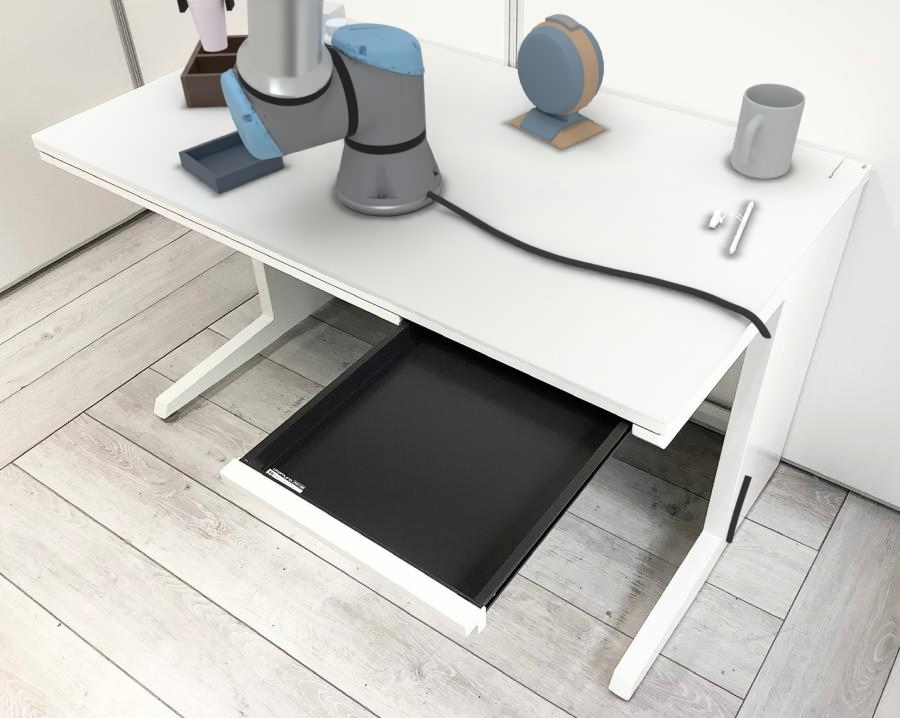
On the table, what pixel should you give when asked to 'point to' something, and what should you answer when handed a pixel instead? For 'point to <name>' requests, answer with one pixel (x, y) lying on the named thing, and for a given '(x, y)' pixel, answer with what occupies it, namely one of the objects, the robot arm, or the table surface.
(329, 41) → the pill bottle
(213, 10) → the smoothie
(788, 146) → the mug
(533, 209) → the table surface
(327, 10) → the white cube
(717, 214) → the picture light
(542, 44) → the alarm clock
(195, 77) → the rack
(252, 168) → the tray
